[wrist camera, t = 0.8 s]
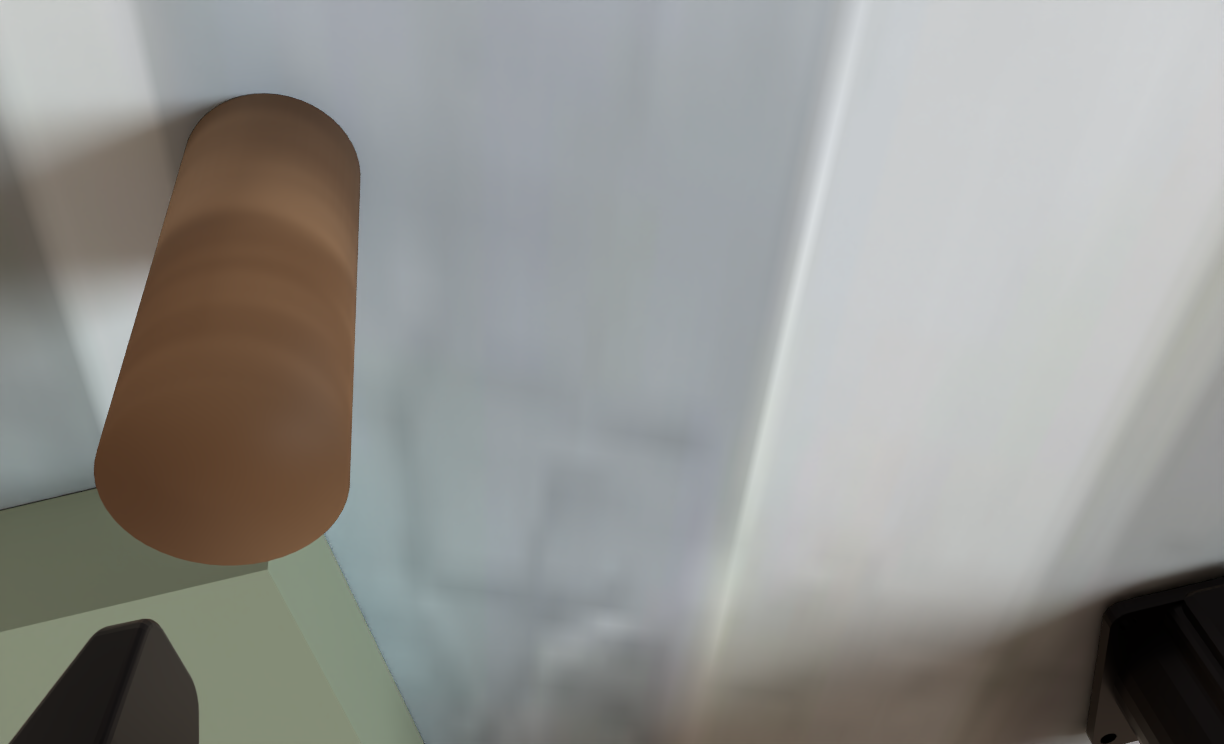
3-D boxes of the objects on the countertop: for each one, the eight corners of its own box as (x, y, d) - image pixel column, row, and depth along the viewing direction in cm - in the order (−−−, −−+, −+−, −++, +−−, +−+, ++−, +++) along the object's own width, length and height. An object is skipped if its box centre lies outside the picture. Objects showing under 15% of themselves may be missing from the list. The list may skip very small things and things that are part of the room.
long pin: (381, 225, 22) (379, 535, 15) (222, 262, 22) (156, 588, 15) (329, 76, 20) (303, 358, 13) (155, 115, 20) (48, 418, 13)
